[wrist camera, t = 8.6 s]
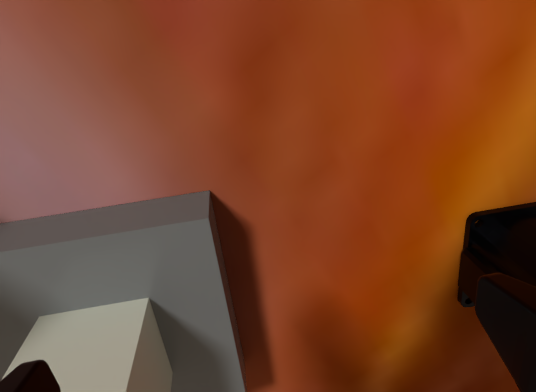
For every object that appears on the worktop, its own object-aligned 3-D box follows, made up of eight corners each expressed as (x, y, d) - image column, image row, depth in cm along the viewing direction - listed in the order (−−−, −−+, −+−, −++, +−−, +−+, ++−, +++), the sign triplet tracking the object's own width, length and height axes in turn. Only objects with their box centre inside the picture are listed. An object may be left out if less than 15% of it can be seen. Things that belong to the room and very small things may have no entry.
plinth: (209, 190, 19) (208, 218, 17) (244, 361, 25) (247, 404, 22) (-38, 229, 19) (-81, 265, 16) (51, 397, 24) (30, 446, 21)
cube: (148, 297, 18) (125, 390, 14) (172, 373, 20) (159, 475, 16) (39, 316, 18) (-22, 418, 13) (75, 391, 20) (33, 500, 15)
